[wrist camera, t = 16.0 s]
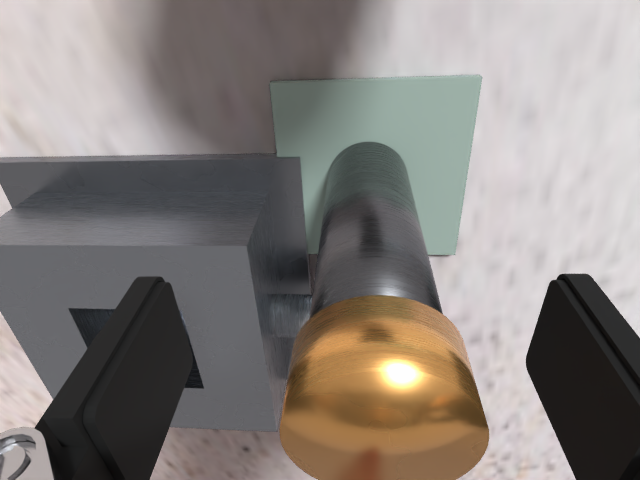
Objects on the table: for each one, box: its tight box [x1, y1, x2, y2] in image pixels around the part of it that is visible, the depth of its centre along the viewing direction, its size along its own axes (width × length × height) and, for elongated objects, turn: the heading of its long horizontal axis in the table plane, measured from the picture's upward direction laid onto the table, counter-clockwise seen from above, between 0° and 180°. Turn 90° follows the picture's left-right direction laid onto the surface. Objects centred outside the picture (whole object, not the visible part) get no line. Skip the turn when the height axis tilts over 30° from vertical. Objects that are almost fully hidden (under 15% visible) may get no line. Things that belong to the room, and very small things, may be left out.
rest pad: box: [269, 75, 482, 255], centre depth 18 cm, size 8×8×1 cm
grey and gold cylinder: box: [280, 142, 489, 480], centre depth 13 cm, size 4×4×12 cm
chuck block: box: [0, 153, 313, 432], centre depth 20 cm, size 20×14×5 cm
